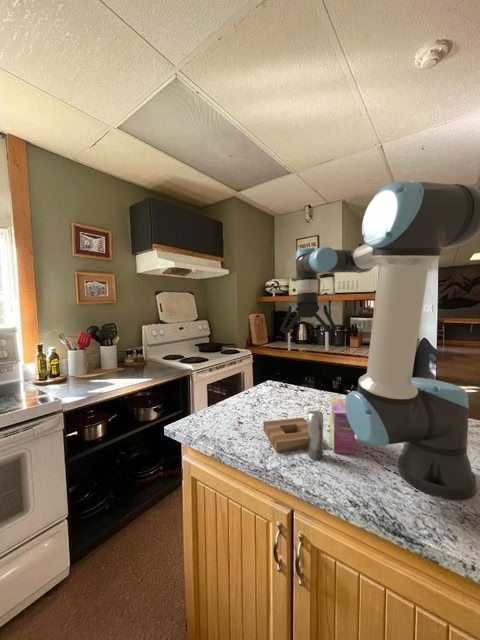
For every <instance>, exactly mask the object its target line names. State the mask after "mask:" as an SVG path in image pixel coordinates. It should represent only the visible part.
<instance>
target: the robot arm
mask: <svg viewBox="0 0 480 640" xmlns="http://www.w3.org/2000/svg"><path fill="white" fill-rule="evenodd" d="M479 234H480V190H478V189H476V188H475V187H473V186H470V185H467V184H459V183H454V184H451V183H441V182H439V183H438V182H426V181H417V180H411V181H395V182H392V183H389V184H387V185H386V186H384V187H382V188H381V189H380V190H379V191H377V192H376V194H375V195H374V197H373V198H372V200H371V201H370V202H369V204H368V206H367V208H366V210H365V212H364V215H363V218H362V224H361V236H362V238H363V241H364V244H362V245H360V246H358V247H355V248H353V249H334V248H331V247H329V246H323V247H319V248H313V247H305V248H302V249H298V250H297V251H296V253H295V272H296V273H295V275H296V281H295V282H296V283H295V284H296V288H295V289H296V292H297V293H296V306H291V305H289V306H288V308H287V312H286V315H285V318H284V319H283V322H282V323H281V326H280V327H279V331H280V332H283V333H284V341H285V342H287V351H289V352H290V351H291V332H289V331H291V329H292V328H293V327H294V325H295V324H296V323H297V322H298V320H300V318H303V319H307V318H309V319H310V318H311V319H312V318H315V319H316V320H317V321H318V322H319V323H320V324H321V326H323V328H324V329H325V330H326V331H325V334H324V335H325V351H326V352H328V351H330V350H329V347H330V346H329V345H330V343H329V342H332V340H333V338H332V337H333V336H332V335H333V334H332V332H334V331H338V329H337V328H338V327H337V326H336V324H335V323H334V320H333V318H332V316H331V315H330V312H329V310H328V305H327V304H324V305H319V296H318V295H319V294H318V292H317V291H319V290H318V282H319V281H318V274H321V273H322V274H323V273H324V274H326V273H328V274H329V273H356V274H362V273H368V272H371V271H372V269H374V268H375V267H377V266H378V270H377V271H378V272H377V279H376V288H375V289H376V290H375V297H374V307H373V316H372V325H371V333H370V341H369V342H370V343H369V352H368V360H367V370H366V373H364V374H363V375H362V376H360V377H359V378H358V382H357V390H352V391H350V392H348V394H347V395H346V396H345V411H346V415H347V419H348V421H349V424H350V426H351V428H352V430H353V432H354V433H355V436H356V437H357V438H358V440H360V441H361V443H364V445H367V446H369V447H370V446H371V447H374V446H375V447H377V446H378V447H379V446H381V447H386V446H388V445H394V444H395V445H396V444H403V443H404V445H403V447H402V450H401V454H400V455H399V457H398V460H397V471H398V473H399V475H400V476H401V478H402V479H404V481H405V482H407V483H408V484H409V485H411V486H412V487H414V488H416V489H417V490H419V491H421V492H424V493H426V494H429V495H431V496H434V497H438V498H442V499H447V500H467V499H470V498H473V496H475V495H476V492H477V478H476V475H475V474H474V472H473V470H472V466H471V462H470V459H469V456H468V431H469V409H470V405H469V395H468V392H467V391H466V390H465V389H464V388H463V387H462V386H461V387H460V386H458V385H456V384H453V383H450V382H446V381H441V380H437V379H433V378H424V377H413V373H414V372H413V371H414V365H415V364H414V363H415V357H416V353H417V345H418V339H419V338H418V337H419V332H420V325H421V319H422V313H423V306H424V300H425V292H426V288H427V287H426V286H427V281H428V274H429V267H430V266H431V265H432V264H433V263H435V262H436V261H437V260H439V259H440V258H441V252H442V251H445V250H448V249H451V248H457V247H460V246H462V245H464V244H467V243H469V242H470V241H471V240H473V239H475V237H477V236H478V235H479ZM294 311H296V312H297V314H296V316H295V317H294V318H293V319H292V321H291V322H290V323H289V324H288V326H287V327H286V325H287V323H288V320H289V318H290V316H291V313H293V312H294ZM319 311H321V312H323V314H324V316H325V317H326V319H327V321H328V323H329V325H330V326H331V327H330V326H329V325H328V324H327V323H326V322H325V321H324V320H323V319H322V318H321V316H320V315H319V314H318V312H319ZM285 327H286V328H285Z"/></svg>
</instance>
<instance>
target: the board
mask: <svg viewBox="0 0 480 640" xmlns="http://www.w3.org/2000/svg"><path fill="white" fill-rule="evenodd" d="M262 423H263V424H262V425H263V428H262V429H263V432H264V434H265V435H266V437H267V439H268V440H269V442H270V444H271V446H272V447H273V450H274V451H275V453H284V452H292V451H300V450H308V420H306V419H305V417H295V418H286V419H276V420H275V419H274V420H266V421H262Z"/></svg>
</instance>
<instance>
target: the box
mask: <svg viewBox="0 0 480 640" xmlns="http://www.w3.org/2000/svg"><path fill="white" fill-rule="evenodd" d="M328 430H329V432H328V433H329V438H330V442H331V446H332V451H333V453H337V454H345V455H346V454H348V455H354V454H355V445H356V444H355V440H356V437H355V436H356V435H355V433H354V432H353V430H352V428H351V426H350V424H349V421H348V419H347V415H346V411H345V399H344V398H329V429H328Z"/></svg>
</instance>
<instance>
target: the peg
mask: <svg viewBox="0 0 480 640" xmlns="http://www.w3.org/2000/svg"><path fill="white" fill-rule="evenodd" d="M307 422H308V449H307V452H308V453H307V455H308V457H309V459H310V460H315V461H319V460H320V461H321V460H322V459H324V413H323V412H322V411H319V410H309V411H308V412H307Z"/></svg>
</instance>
